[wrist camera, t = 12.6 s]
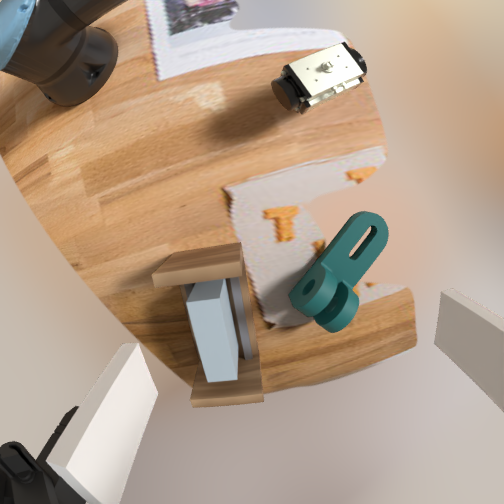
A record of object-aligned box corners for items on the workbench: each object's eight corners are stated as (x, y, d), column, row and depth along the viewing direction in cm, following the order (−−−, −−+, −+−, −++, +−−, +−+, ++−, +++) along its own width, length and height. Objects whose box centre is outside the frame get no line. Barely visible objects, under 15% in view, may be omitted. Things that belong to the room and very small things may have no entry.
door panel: (197, 278, 41) (186, 302, 32) (224, 274, 41) (219, 298, 32) (213, 348, 43) (207, 382, 34) (238, 345, 43) (237, 379, 34)
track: (174, 252, 41) (151, 274, 30) (241, 242, 41) (239, 261, 30) (202, 364, 45) (192, 407, 34) (259, 358, 45) (263, 401, 34)
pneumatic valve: (265, 100, 36) (273, 67, 24) (329, 69, 35) (356, 34, 23) (286, 130, 37) (303, 107, 26) (349, 98, 36) (383, 71, 24)
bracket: (319, 316, 44) (333, 340, 36) (288, 294, 43) (297, 316, 35) (389, 229, 41) (415, 238, 33) (361, 202, 40) (385, 205, 32)
